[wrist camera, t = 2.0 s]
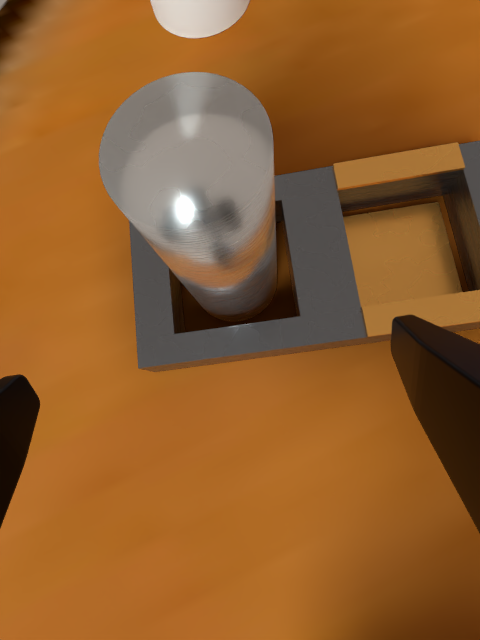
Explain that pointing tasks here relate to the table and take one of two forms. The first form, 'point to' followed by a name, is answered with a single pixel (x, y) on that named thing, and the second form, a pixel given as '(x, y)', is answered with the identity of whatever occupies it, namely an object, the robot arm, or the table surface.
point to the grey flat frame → (339, 262)
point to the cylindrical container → (198, 16)
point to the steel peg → (199, 186)
